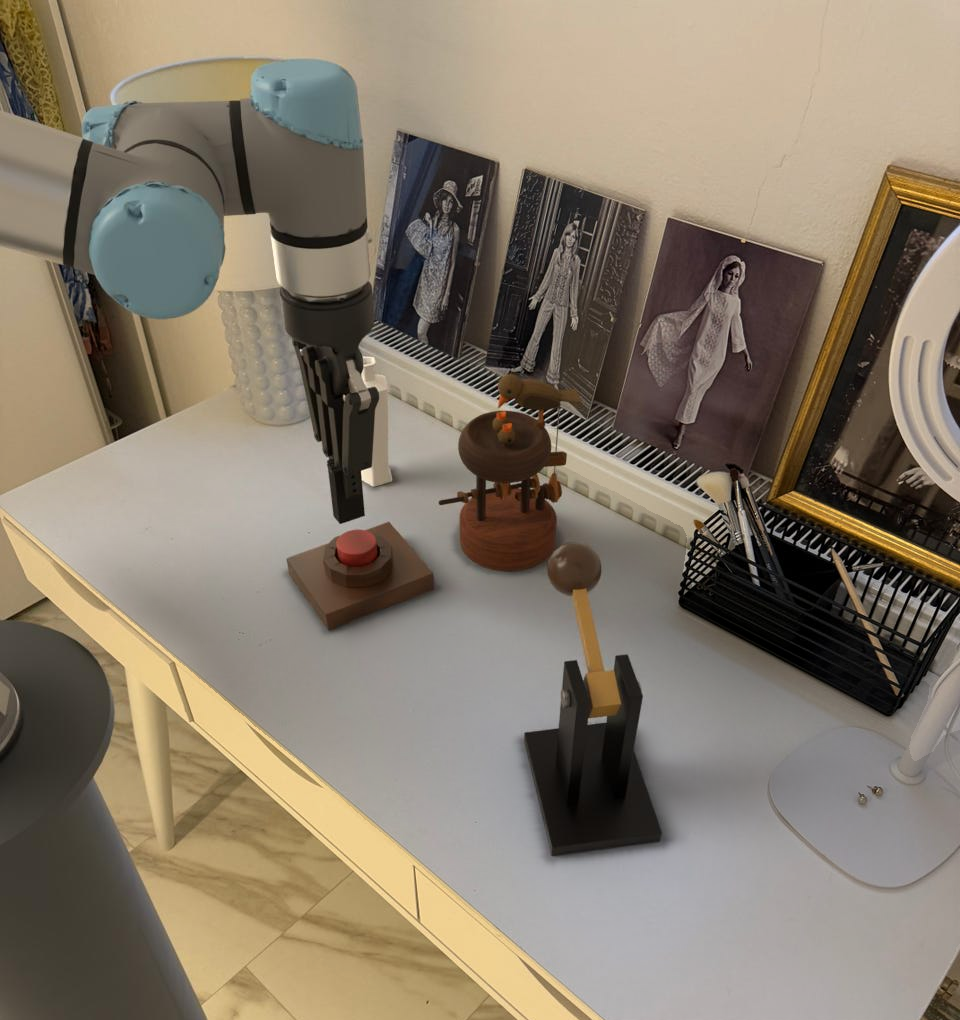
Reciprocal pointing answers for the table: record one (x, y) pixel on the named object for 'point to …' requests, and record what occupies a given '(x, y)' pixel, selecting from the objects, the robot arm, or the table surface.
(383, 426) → the perfume bottle
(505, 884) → the table surface
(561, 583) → the lever
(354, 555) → the button
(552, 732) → the lever bracket
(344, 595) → the button housing
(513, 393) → the music box
